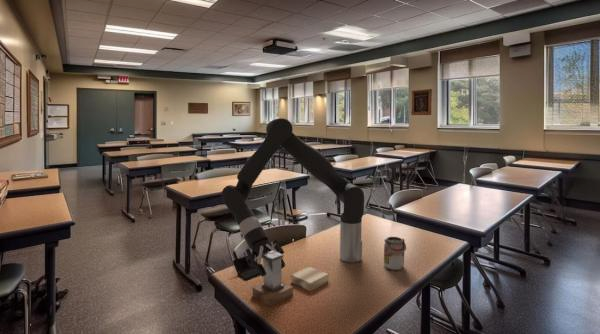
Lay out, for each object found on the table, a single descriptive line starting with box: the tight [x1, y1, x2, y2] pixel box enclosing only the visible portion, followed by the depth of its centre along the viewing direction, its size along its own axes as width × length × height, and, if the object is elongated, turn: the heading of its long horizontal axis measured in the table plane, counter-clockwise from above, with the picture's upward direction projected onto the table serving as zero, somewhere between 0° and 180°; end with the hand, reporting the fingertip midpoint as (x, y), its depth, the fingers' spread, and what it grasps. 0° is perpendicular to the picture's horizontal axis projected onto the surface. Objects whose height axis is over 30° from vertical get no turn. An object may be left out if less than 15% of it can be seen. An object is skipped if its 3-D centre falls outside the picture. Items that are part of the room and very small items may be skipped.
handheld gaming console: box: [232, 253, 261, 281], centre depth 135 cm, size 12×7×10 cm
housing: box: [262, 251, 284, 293], centre depth 116 cm, size 6×5×12 cm
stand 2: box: [290, 266, 330, 292], centre depth 127 cm, size 10×10×3 cm
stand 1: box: [252, 281, 294, 307], centre depth 117 cm, size 10×10×3 cm
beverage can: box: [383, 236, 407, 271], centre depth 138 cm, size 9×8×12 cm
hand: (274, 271), depth 116 cm, fingers open, 8 cm apart
